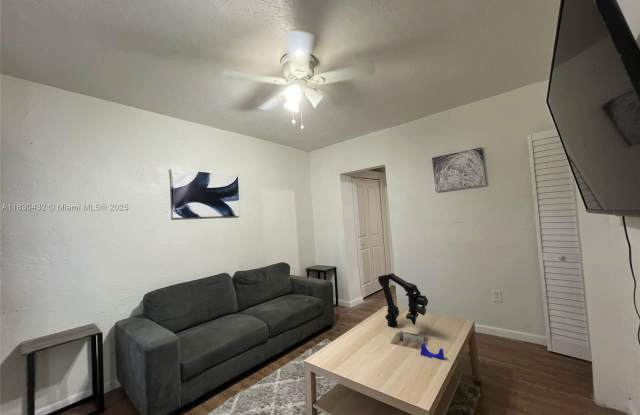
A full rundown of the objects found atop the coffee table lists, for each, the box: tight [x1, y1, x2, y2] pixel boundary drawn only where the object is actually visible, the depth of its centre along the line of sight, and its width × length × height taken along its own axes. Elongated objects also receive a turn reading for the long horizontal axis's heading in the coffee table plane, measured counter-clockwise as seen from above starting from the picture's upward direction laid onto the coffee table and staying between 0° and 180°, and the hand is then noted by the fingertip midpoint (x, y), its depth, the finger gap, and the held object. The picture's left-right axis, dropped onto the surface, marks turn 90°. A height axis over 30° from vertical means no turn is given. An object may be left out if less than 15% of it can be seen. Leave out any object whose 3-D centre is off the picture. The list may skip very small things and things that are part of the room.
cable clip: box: [420, 344, 445, 361], centre depth 153 cm, size 12×4×6 cm, turn 49°
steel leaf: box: [398, 330, 424, 345], centre depth 170 cm, size 15×2×6 cm, turn 58°
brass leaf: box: [402, 331, 425, 341], centre depth 171 cm, size 13×1×5 cm, turn 59°
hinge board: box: [389, 331, 430, 351], centre depth 173 cm, size 22×18×1 cm
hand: (414, 324), depth 182 cm, fingers closed
